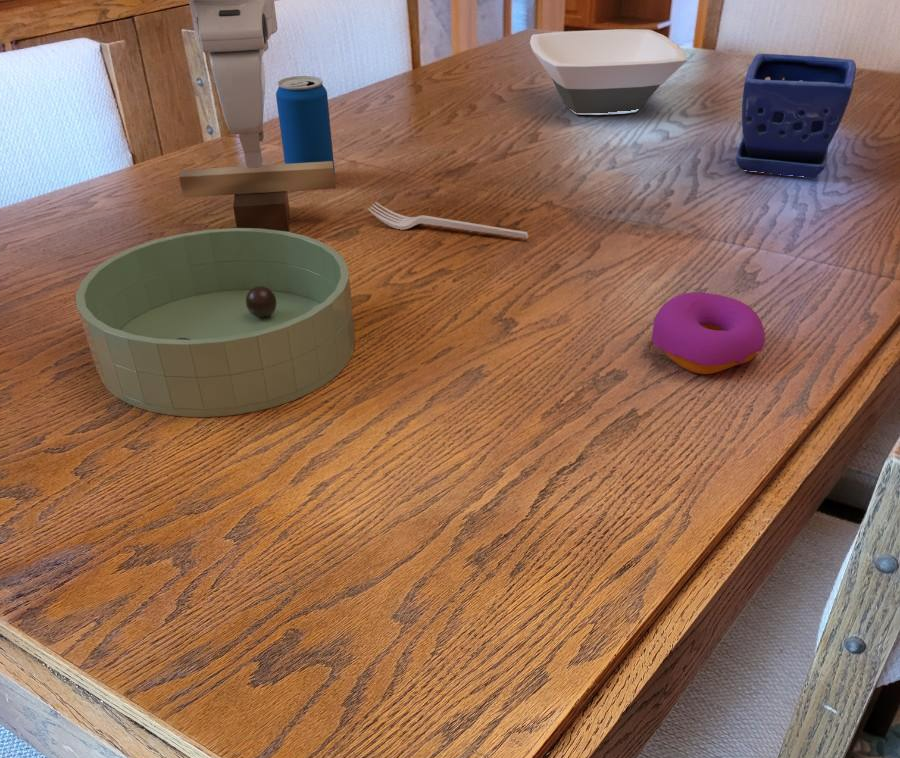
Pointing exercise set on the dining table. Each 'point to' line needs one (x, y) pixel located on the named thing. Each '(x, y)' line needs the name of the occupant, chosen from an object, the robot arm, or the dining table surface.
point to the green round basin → (218, 321)
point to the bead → (261, 302)
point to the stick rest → (262, 210)
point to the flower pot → (792, 112)
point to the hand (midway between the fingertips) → (255, 152)
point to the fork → (437, 223)
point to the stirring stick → (257, 179)
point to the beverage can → (304, 120)
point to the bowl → (607, 66)
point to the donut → (707, 332)
